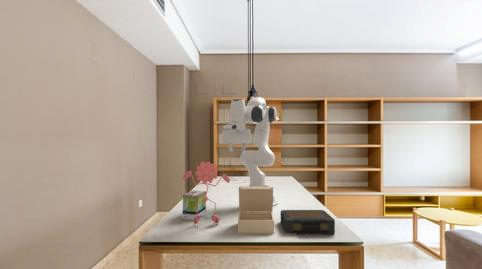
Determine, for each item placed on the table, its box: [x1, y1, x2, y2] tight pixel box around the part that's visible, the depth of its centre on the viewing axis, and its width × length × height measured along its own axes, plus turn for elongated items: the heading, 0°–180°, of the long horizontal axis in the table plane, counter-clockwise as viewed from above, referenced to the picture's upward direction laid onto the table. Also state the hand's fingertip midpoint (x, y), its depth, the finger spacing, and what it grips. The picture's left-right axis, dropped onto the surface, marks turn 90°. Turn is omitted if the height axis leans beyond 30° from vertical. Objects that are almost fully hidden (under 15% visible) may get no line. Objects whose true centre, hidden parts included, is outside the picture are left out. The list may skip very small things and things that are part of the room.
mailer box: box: [237, 211, 275, 234], centre depth 149 cm, size 18×16×7 cm
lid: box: [238, 185, 274, 213], centre depth 153 cm, size 18×17×3 cm
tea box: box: [182, 190, 207, 221], centre depth 172 cm, size 15×10×15 cm, turn 168°
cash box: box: [280, 209, 336, 236], centre depth 151 cm, size 25×20×8 cm
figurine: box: [182, 161, 231, 228], centre depth 158 cm, size 15×26×35 cm, turn 95°
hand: (237, 151), depth 160 cm, fingers open, 8 cm apart
